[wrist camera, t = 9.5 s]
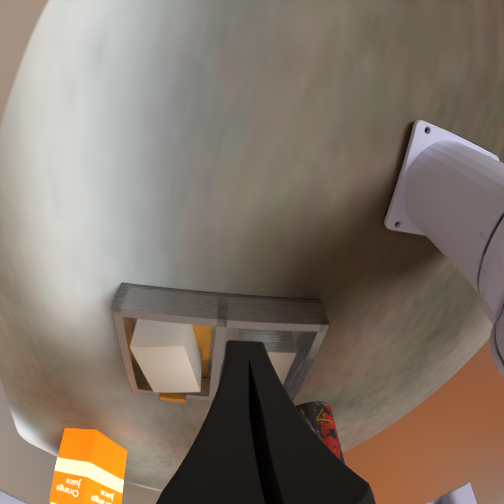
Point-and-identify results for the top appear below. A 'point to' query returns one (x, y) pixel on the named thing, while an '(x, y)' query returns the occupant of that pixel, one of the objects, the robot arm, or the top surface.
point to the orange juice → (88, 469)
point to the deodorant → (322, 424)
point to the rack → (223, 331)
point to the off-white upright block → (167, 355)
